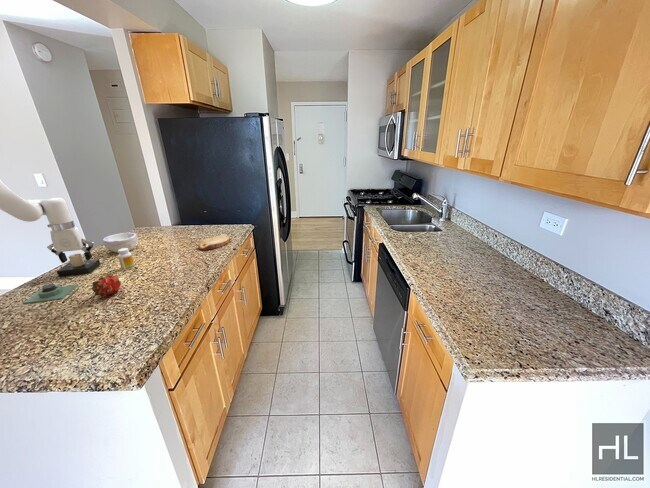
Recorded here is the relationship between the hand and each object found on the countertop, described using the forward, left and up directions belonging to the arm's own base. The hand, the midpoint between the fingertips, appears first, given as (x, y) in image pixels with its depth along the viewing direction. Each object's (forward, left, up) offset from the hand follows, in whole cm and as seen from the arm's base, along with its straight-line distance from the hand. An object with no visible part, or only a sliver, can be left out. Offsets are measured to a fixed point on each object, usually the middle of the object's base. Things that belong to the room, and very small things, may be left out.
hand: (77, 260), depth 122 cm
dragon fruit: (+23, -27, -5) cm, 36 cm away
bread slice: (+58, +19, -5) cm, 61 cm away
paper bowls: (+9, +24, -5) cm, 26 cm away
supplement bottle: (+21, -3, -5) cm, 22 cm away
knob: (0, 0, -2) cm, 2 cm away
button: (+3, -25, -2) cm, 25 cm away
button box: (+3, -25, -5) cm, 26 cm away
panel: (0, 0, -5) cm, 5 cm away
